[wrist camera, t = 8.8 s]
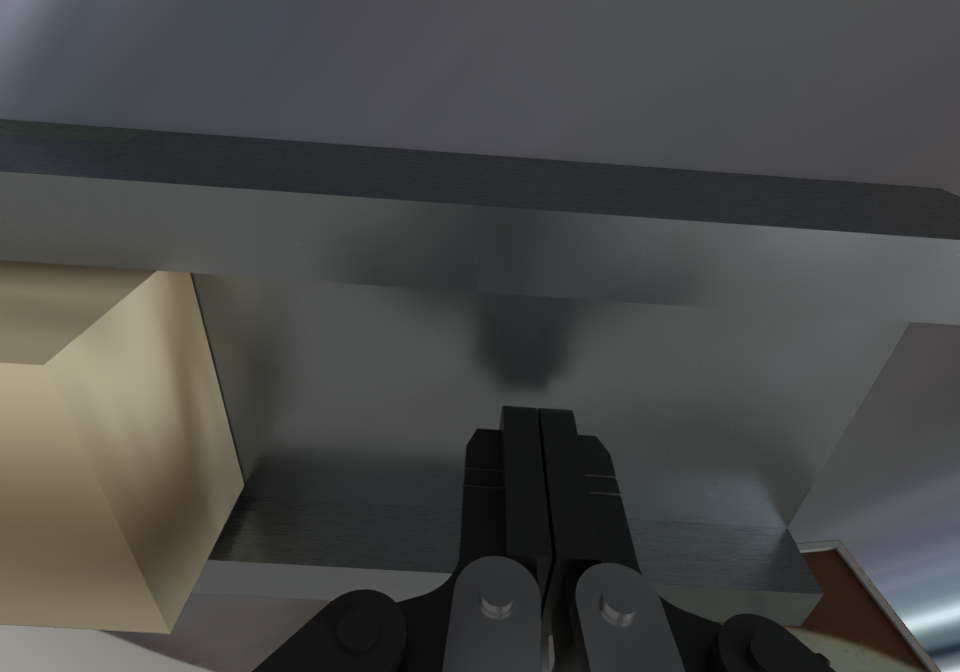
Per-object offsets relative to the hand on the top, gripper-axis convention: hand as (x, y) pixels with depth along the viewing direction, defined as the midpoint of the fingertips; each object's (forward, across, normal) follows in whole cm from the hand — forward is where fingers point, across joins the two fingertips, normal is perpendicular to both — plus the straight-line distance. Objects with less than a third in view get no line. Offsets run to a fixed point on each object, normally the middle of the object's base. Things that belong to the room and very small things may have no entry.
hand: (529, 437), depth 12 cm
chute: (+2, +4, 0) cm, 5 cm away
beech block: (+1, +10, 0) cm, 10 cm away
